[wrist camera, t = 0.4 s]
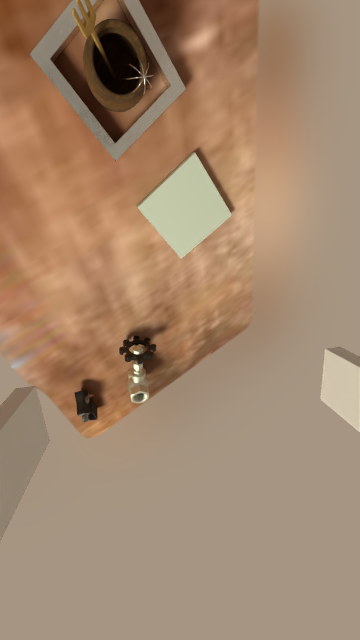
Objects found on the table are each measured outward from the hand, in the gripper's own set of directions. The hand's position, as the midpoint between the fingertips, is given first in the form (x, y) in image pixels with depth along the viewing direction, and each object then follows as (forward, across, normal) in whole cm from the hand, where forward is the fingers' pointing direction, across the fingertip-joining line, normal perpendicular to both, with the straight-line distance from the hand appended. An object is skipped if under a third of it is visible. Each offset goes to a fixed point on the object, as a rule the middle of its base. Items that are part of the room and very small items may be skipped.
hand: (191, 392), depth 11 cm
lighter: (+40, -16, -23) cm, 49 cm away
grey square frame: (+24, -3, +24) cm, 34 cm away
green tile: (+29, +5, +12) cm, 32 cm away
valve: (+38, -5, -15) cm, 41 cm away
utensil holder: (+24, -3, +24) cm, 34 cm away
